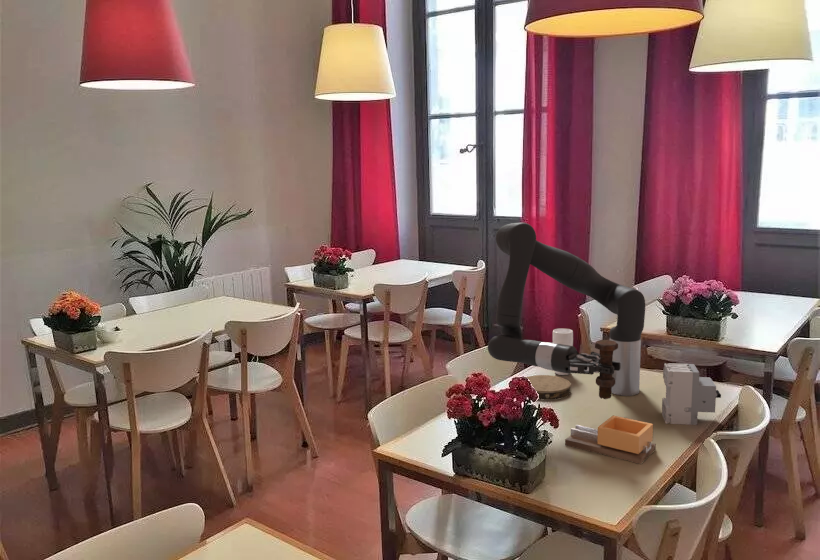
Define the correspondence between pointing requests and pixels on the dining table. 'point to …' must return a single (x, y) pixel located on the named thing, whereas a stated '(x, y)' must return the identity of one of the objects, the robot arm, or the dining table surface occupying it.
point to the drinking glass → (563, 340)
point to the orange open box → (625, 434)
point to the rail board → (607, 449)
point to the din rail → (596, 435)
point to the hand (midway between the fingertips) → (616, 368)
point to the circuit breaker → (686, 394)
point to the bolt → (606, 358)
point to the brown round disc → (550, 386)
